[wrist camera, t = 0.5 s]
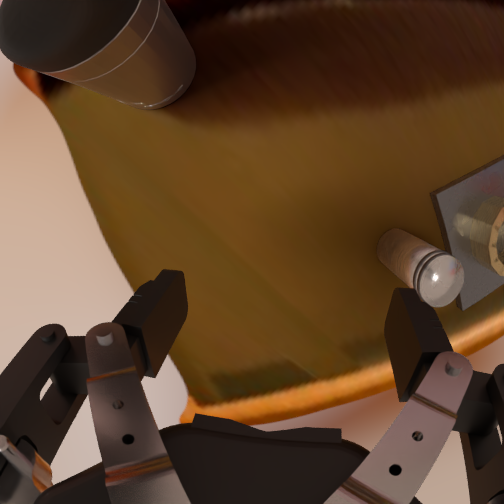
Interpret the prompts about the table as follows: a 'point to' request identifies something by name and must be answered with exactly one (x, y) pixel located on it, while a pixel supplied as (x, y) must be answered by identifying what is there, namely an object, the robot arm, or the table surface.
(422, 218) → the table surface
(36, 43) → the robot arm
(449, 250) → the tan pot on tray
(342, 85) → the table surface
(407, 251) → the piston
